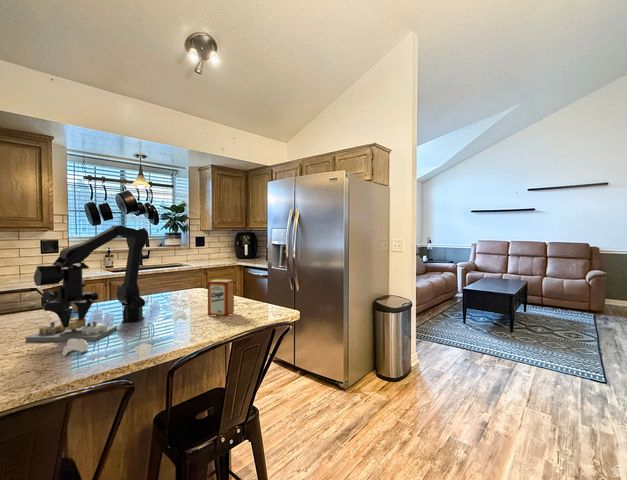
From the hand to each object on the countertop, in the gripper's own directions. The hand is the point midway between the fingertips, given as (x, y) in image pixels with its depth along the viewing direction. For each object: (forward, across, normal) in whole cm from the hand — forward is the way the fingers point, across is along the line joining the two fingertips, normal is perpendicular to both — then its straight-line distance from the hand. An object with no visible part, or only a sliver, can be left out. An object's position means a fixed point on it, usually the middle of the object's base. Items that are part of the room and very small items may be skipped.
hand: (73, 324), depth 113 cm
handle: (+4, -35, -25) cm, 43 cm away
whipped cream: (+5, +15, +12) cm, 20 cm away
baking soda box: (+4, -28, +46) cm, 54 cm away
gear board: (+4, 0, 0) cm, 4 cm away
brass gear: (+1, 0, 0) cm, 1 cm away
